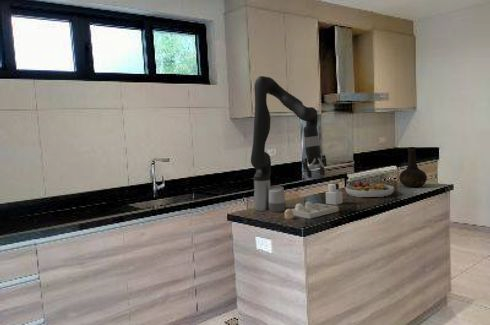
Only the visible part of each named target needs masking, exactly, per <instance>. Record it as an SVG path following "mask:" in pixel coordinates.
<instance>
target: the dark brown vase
mask: <svg viewBox="0 0 490 325" xmlns="http://www.w3.org/2000/svg"><path fill="white" fill-rule="evenodd" d="M406 151H407V152H408V157H407V158H408V159H407V167H406V169H404V170H401V172H400V174H399V176H398V180H399V181H400V183H401V184H402V186H404V187H406V186H408V187H407V188H420V187H423V186H424V185H425V184H426V182H427V179H428V176H427V173H426V171H424V170H422V169H420V168H419V167H418V163H417V158H416V151H417V149H416V147H414V146H410V147H408V149H407V150H406Z"/></svg>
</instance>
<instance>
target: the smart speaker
mask: <svg viewBox="0 0 490 325" xmlns="http://www.w3.org/2000/svg"><path fill="white" fill-rule="evenodd" d="M286 206H287V205H286V198H285V189H284V187H283V186H281V185H277V186H273V187H270V190H269V210H268V211H270V212H271V213H281V212H285V210H286V209H287V208H286Z"/></svg>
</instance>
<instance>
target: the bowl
mask: <svg viewBox="0 0 490 325" xmlns="http://www.w3.org/2000/svg"><path fill="white" fill-rule="evenodd" d="M394 190H395V187H394V186H393V185H389V184H384V183H369V182H368V181H363V182H362V181H360V180H357V181H355V182H353V184H350V185H346V186H345V192H346V194H347V195H349V196H351V197H354V196H355V198H361V197H378V198H385V197H384V196H386V197H388V195H389V196H391V195H392V194H393V193H394Z"/></svg>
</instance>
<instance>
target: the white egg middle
mask: <svg viewBox="0 0 490 325" xmlns="http://www.w3.org/2000/svg"><path fill="white" fill-rule="evenodd" d="M313 204H314V203H313V202H312V201H305V203H304V206H305V208H307V209H311V208H313Z"/></svg>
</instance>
